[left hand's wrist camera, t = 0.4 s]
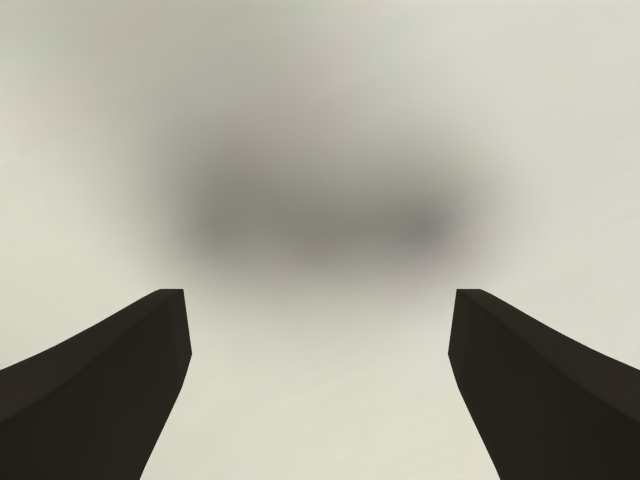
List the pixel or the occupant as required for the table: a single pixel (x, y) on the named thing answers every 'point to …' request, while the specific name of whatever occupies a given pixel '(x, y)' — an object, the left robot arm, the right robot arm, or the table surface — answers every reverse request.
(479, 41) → the table surface
